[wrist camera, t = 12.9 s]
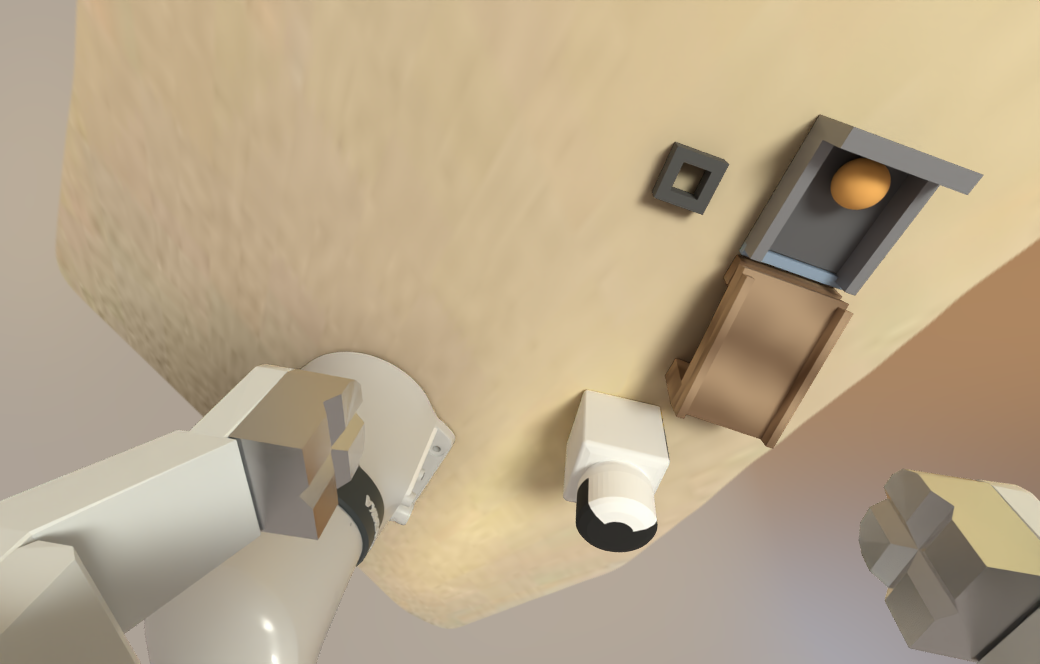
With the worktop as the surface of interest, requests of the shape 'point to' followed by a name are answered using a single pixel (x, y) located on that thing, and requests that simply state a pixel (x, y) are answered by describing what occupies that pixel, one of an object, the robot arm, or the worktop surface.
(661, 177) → the square nut
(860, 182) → the ball
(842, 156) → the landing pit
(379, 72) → the worktop surface
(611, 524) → the medicine bottle
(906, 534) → the robot arm
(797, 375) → the launch ramp
